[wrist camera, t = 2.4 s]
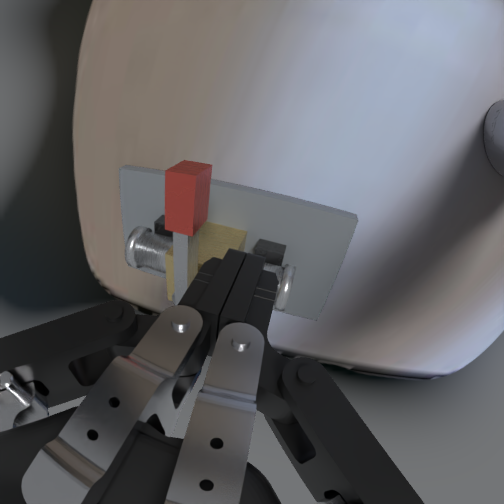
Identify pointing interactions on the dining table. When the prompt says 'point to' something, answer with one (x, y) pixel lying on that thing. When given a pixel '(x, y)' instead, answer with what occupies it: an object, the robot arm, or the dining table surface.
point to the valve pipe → (205, 253)
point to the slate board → (257, 229)
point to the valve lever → (186, 218)
